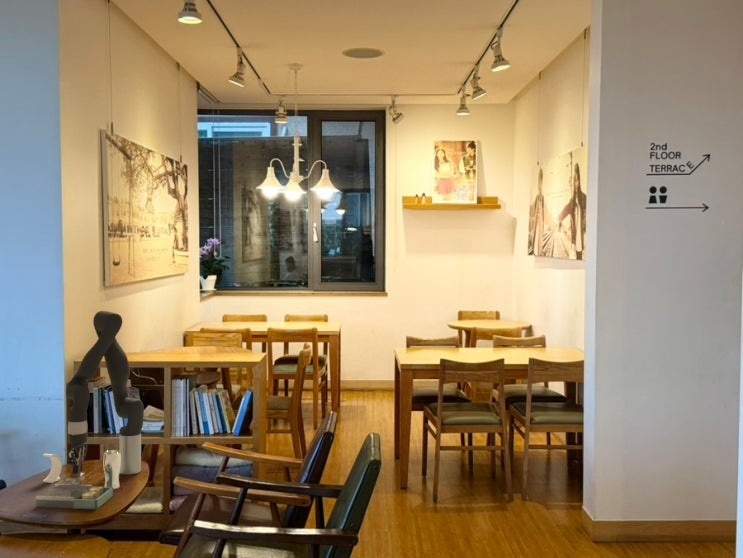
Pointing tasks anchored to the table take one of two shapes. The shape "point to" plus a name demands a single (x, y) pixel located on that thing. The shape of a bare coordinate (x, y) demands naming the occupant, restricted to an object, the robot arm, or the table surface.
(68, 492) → the open box
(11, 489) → the table surface
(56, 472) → the headphone stand
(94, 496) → the maple cube
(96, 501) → the chip tray
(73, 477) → the rake tool
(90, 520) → the table surface
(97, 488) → the maple cube
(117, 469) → the beer glass
